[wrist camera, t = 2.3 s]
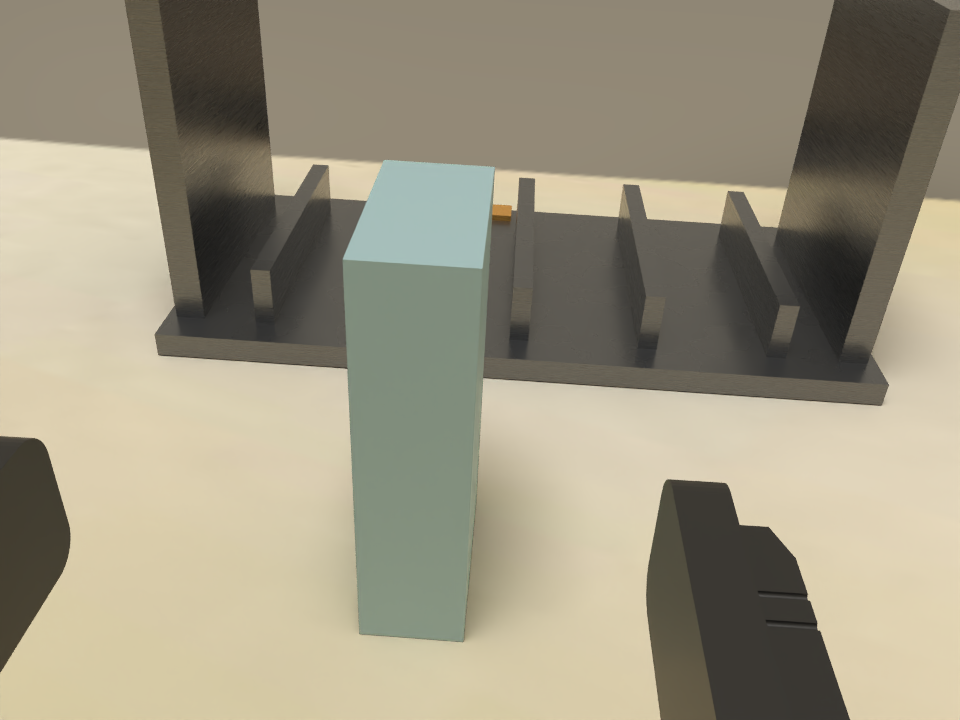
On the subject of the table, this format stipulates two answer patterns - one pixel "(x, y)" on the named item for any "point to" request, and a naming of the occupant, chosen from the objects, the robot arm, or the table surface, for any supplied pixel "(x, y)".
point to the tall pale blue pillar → (417, 392)
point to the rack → (566, 227)
